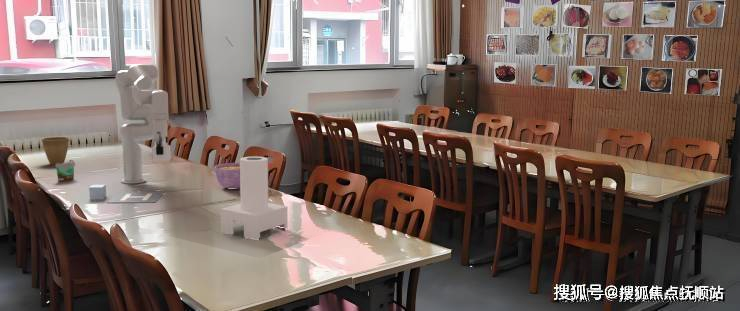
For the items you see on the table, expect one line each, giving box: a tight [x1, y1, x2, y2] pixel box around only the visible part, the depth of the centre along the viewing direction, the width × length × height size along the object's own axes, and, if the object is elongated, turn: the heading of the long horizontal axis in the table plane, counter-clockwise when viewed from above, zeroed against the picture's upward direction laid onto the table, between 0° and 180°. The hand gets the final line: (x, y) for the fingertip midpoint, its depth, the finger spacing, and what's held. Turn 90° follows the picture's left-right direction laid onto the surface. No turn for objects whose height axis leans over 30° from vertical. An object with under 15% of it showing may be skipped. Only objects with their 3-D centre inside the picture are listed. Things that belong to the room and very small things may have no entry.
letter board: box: [106, 191, 164, 204], centre depth 320 cm, size 22×22×1 cm
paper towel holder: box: [220, 156, 288, 239], centre depth 265 cm, size 19×19×30 cm
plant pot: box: [41, 136, 70, 166], centre depth 400 cm, size 15×15×16 cm
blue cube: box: [88, 184, 107, 200], centre depth 318 cm, size 6×6×6 cm
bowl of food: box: [213, 162, 240, 189], centre depth 345 cm, size 20×20×12 cm
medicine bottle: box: [151, 136, 172, 163], centre depth 318 cm, size 7×7×12 cm
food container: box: [55, 159, 76, 183], centre depth 356 cm, size 12×6×10 cm, turn 168°
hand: (161, 153), depth 318 cm, fingers closed on medicine bottle, 7 cm apart
